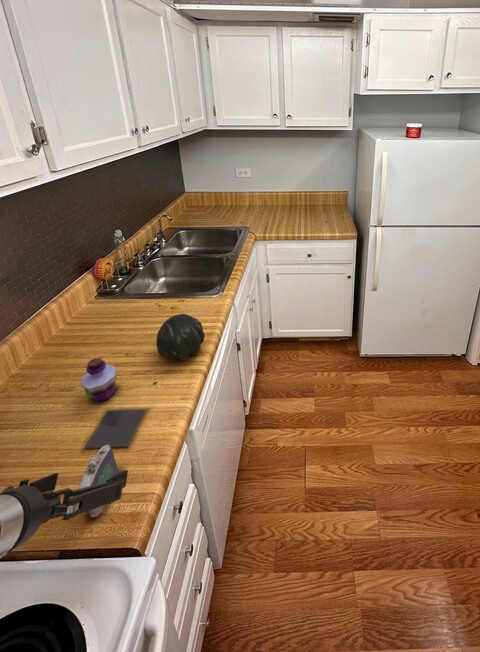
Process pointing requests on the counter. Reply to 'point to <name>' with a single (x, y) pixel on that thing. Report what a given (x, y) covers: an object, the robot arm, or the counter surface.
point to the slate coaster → (116, 429)
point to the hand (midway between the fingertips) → (90, 479)
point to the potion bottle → (99, 380)
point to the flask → (99, 472)
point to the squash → (180, 337)
